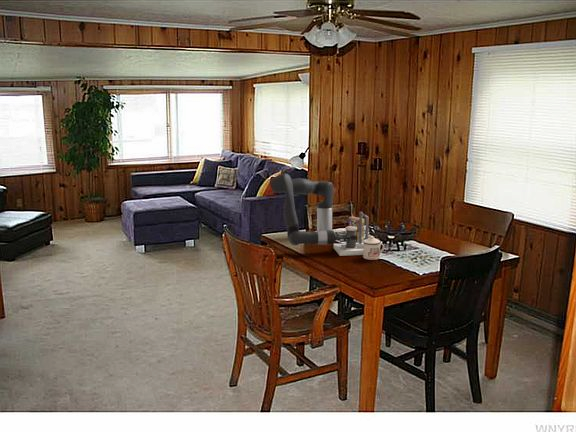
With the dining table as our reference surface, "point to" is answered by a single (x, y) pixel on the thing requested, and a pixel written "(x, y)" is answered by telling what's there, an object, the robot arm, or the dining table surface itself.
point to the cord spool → (351, 232)
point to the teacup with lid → (372, 248)
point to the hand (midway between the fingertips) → (355, 236)
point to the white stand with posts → (341, 247)
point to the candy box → (355, 223)
